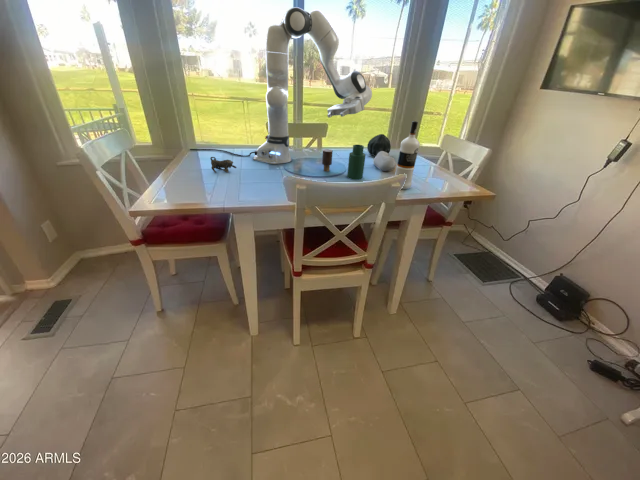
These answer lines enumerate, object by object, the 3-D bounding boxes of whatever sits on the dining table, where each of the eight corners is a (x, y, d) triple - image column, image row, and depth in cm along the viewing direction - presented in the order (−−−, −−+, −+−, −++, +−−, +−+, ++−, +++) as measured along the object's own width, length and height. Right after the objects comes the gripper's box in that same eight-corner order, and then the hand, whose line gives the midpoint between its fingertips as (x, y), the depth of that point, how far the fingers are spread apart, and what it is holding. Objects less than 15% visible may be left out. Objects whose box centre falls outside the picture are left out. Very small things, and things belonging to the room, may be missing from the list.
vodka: (400, 182, 140) (413, 119, 124) (414, 188, 133) (430, 122, 117) (387, 184, 135) (399, 120, 119) (401, 191, 129) (416, 123, 113)
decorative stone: (369, 159, 163) (380, 145, 158) (380, 168, 167) (392, 155, 163) (377, 170, 149) (390, 156, 145) (389, 180, 153) (402, 166, 149)
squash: (375, 142, 188) (372, 127, 175) (395, 147, 181) (393, 132, 168) (366, 159, 186) (361, 145, 173) (386, 165, 179) (383, 150, 166)
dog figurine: (210, 173, 138) (208, 158, 134) (213, 169, 143) (211, 155, 139) (235, 173, 139) (233, 158, 135) (237, 169, 144) (235, 155, 140)
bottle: (345, 178, 141) (348, 146, 132) (348, 173, 147) (352, 143, 138) (360, 180, 139) (365, 148, 130) (363, 175, 145) (367, 145, 137)
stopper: (320, 171, 148) (321, 150, 142) (323, 168, 152) (324, 148, 146) (329, 172, 147) (331, 152, 141) (332, 170, 151) (333, 149, 145)
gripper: (335, 100, 153) (319, 110, 147) (364, 96, 139) (347, 107, 133) (338, 112, 157) (322, 122, 151) (366, 109, 143) (351, 120, 137)
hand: (334, 115), depth 142 cm, fingers open, 8 cm apart
